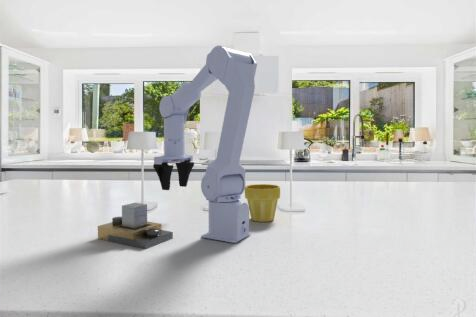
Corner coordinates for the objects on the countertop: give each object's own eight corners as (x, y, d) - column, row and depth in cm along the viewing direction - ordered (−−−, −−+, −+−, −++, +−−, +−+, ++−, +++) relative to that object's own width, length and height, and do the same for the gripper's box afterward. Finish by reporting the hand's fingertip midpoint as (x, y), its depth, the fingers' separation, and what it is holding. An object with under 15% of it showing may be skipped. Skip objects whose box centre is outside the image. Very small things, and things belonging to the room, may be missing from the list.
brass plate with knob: (172, 238, 80) (172, 220, 80) (145, 249, 72) (144, 229, 72) (127, 229, 87) (127, 213, 87) (97, 238, 80) (97, 220, 79)
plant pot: (237, 219, 99) (237, 186, 98) (259, 213, 106) (259, 182, 106) (265, 225, 92) (265, 190, 91) (286, 219, 99) (287, 186, 99)
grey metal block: (147, 237, 81) (147, 204, 80) (134, 242, 77) (134, 207, 77) (135, 235, 83) (134, 202, 82) (122, 239, 79) (121, 205, 79)
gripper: (179, 140, 104) (179, 184, 105) (145, 140, 91) (145, 190, 92) (198, 140, 100) (198, 185, 101) (165, 140, 88) (165, 192, 89)
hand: (174, 188), depth 96 cm, fingers open, 7 cm apart
